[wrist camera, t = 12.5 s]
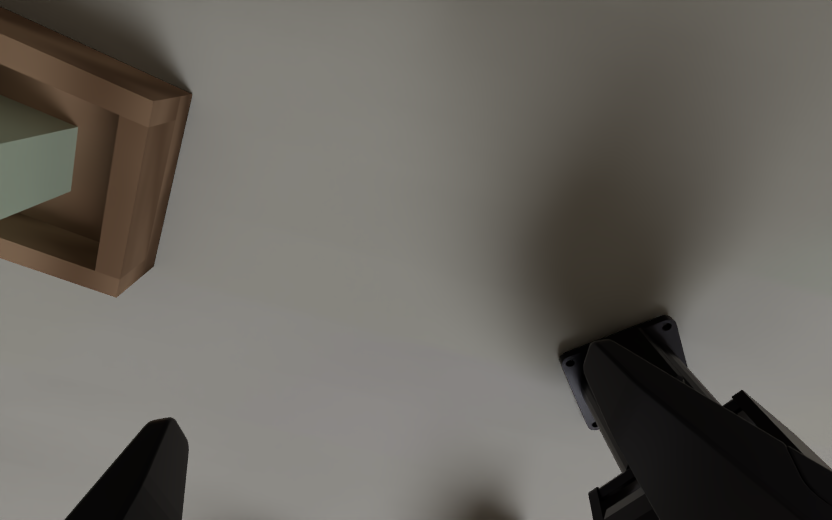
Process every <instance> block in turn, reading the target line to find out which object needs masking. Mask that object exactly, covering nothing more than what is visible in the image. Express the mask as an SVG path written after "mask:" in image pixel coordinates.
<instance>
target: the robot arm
mask: <svg viewBox="0 0 832 520" xmlns="http://www.w3.org/2000/svg"><path fill="white" fill-rule="evenodd" d="M665 324H666V325H665ZM663 325H665V326H663ZM569 360H571V361H570V362H567V361H569ZM559 361H560V364H561V366H562V369H563V371H564V373H565V375H566V378H567V380H568V382H569V385H570V387H571V389H572V392H573V394H574V396H575V399H576V401H577V403H578V405H579V408H580V410H581V412H582V415H583V417H584V419H585V422H586V424H587V426H588V428H589V429H591V430H598V429H600V431H601V433H602V435H603V437H604V439H605V441H606V443H607V445H608V447H609V449H610V451H611V453H612V455H613V456H614V458H615V460H616V462H617V464H618V466H619V468H620V470H621V472H622V473H621V474H620V475H618V476H617V477H615V478H614V479H612V480H611V481H609V482H608V483H606V484H605V485H603V486H602V487H600V488H599V487H596V488H595V489H593V490H592V491H590V492H589V493H588V495H589V500H590V505H591V510H592V516H593V520H832V469H831V468H830V467H829V466H828V465H827V464H826V463H825V462H824V461H823V460H822V459H820V458H819V457H818V456H817V455H816V454H815V453H814V452H813V451H812V450H811V449H810V448H809V447H808V446H807V445H806V444H805V443H804V442H803V441H802V440H800V439H799V438H798V437H797V436H796V435H795V434H794V433H793V432H792V431H790V430H789V429H788V428H787V427H786V426H784V425H783V424H782V423H781V422H780V421H779V420H777V419H776V418H775V417H774V416H773V415H772V414H770V413H769V412H768V411H767V410H766V409H764V408H763V407H762V406H761V405H760V404H759V403H757V402H756V401H755V400H754V399H753V398H751V397H750V396H749V395H748V394H747V393H746V392H744V391H743V390H741V391H740V392H738V393H737V394H735V395H734V396H732V398H733V399H732V400H730V401H729V402H728V403H726V404H725V405H723V406H722V405H721V404H720V403H719V402H718V401H717V400H716V399H715V398H714V397H713V395H712V394H711V393H710V392H709V391H708V390H707V389H706V388H705V387H704V385H703V384H702V383H701V382H700V381H699V380H698V379H697V378H696V377H695V376H694V374H693V373H692V372H691V371H690V370H689V369H688V368H687V364H686V360H685V356H684V352H683V348H682V344H681V340H680V336H679V332H678V328H677V325H676V322H675V321H674V320H673V319H672V318H671V317H670V316H666V315H664V316H660V317H658V318H655V319H652V320H650V321H647V322H645V323H642V324H639V325H637V326H634V327H631V328H629V329H626V330H624V331H621V332H618V333H616V334H613V335H610V336H608V337H605V338H603V339H600V340H597V341H593V342H592V343H590V344H587V345H584V346H582V347H579V348H576V349H574V350H571V351H569V352H566V353H564V354H562V355H561V356H560V359H559ZM188 453H189V446H188V441H187V439H186V437H185V435H184V433H183V432H182V430H181V428H180V427H179V425H178V423H177V422H176V420H175V419H173V418H171V417H168V418H163V419H157V420H153V421H150V422H149V423H147V424H146V425H145V426H144V427H143V428H142V430H141V431H140V432H139V433H138V434H137V435H136V437H135V438H134V439H133V440H132V441H131V442H130V444H129V445H128V446H127V447H126V448H125V449H124V451H123V452H122V453H121V454H120V455H119V456H118V458H117V459H116V460H115V461H114V462H113V463H112V465H111V466H110V467H109V468H108V469H107V470H106V472H105V473H104V474H103V475H102V476H101V478H100V479H99V480H98V481H97V482H96V483H95V485H94V486H93V487H92V488H91V489H90V490H89V492H88V493H87V494H86V495H85V496H84V497H83V499H82V500H81V501H80V502H79V503H78V504H77V506H76V507H75V508H74V509H73V510H72V511H71V513H70V514H69V515H68V516H67V517H66V518H65V520H182V512H183V503H184V493H185V483H186V473H187V463H188Z"/></svg>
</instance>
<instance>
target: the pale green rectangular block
mask: <svg viewBox="0 0 832 520" xmlns="http://www.w3.org/2000/svg"><path fill="white" fill-rule="evenodd" d="M77 133H78V127H77V126H75V125H72V124H70V123H67V122H65V121H63V120H60V119H58V118H55V117H53V116H50V115H48V114H46V113H43V112H41V111H38V110H36V109H34V108H31V107H29V106H26V105H24V104H21V103H19V102H17V101H14V100H12V99H9V98H7V97H5V96H2V95H0V220H1V219H3V218H6V217H8V216H11V215H13V214H16V213H18V212H21V211H23V210H25V209H28V208H30V207H33V206H35V205H38V204H40V203H43V202H45V201H48V200H50V199H53V198H55V197H58V196H60V195H63V194H65V193H68V192H70V191H71V185H72V176H73V167H74V159H75V150H76V141H77Z"/></svg>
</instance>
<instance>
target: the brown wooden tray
mask: <svg viewBox="0 0 832 520" xmlns="http://www.w3.org/2000/svg"><path fill="white" fill-rule="evenodd" d="M0 95H2V96H5V97H7V98H9V99H12V100H14V101H17V102H19V103H21V104H24V105H26V106H29V107H31V108H34V109H36V110H38V111H41V112H43V113H46V114H48V115H50V116H53V117H55V118H58V119H60V120H63V121H65V122H67V123H70V124H72V125H75V126H77V127H78V133H77V141H76V150H75V159H74V167H73V176H72V185H71V191H70V192H68V193H65V194H63V195H60V196H58V197H55V198H53V199H50V200H48V201H45V202H43V203H40V204H38V205H35V206H33V207H30V208H28V209H25V210H23V211H21V212H18V213H16V214H13V215H11V216H8V217H6V218H3V219H1V220H0V258H2V259H5V260H8V261H11V262H13V263H16V264H19V265H22V266H25V267H28V268H31V269H34V270H37V271H40V272H43V273H46V274H49V275H52V276H55V277H58V278H60V279H63V280H66V281H69V282H72V283H75V284H78V285H81V286H84V287H87V288H90V289H93V290H96V291H99V292H102V293H105V294H107V295H110V296H113V297H118V296H119V295H120V294H121V293H122V292H124V291H125V290H126V289H127V288H128V287H130V286H131V285H132V284H133V283H134V282H136V281H137V280H138V279H139V278H140V277H142V276H143V275H144V274H145V273H146V272H148V271H149V270H150V269H151V268H152V267H154V262H155V258H156V254H157V249H158V245H159V240H160V236H161V231H162V227H163V223H164V218H165V214H166V209H167V205H168V200H169V196H170V192H171V187H172V183H173V178H174V174H175V169H176V165H177V160H178V156H179V152H180V147H181V143H182V138H183V134H184V129H185V125H186V121H187V116H188V112H189V107H190V103H191V98H192V94H191V93H189V92H186V91H184V90H182V89H180V88H178V87H175V86H173V85H171V84H169V83H167V82H164V81H162V80H160V79H158V78H156V77H153V76H151V75H149V74H147V73H145V72H142V71H140V70H138V69H136V68H134V67H132V66H129V65H127V64H125V63H123V62H121V61H118V60H116V59H114V58H112V57H110V56H107V55H105V54H103V53H101V52H99V51H96V50H94V49H92V48H90V47H88V46H85V45H83V44H81V43H79V42H77V41H74V40H72V39H70V38H68V37H66V36H64V35H61V34H59V33H57V32H55V31H53V30H50V29H48V28H46V27H44V26H42V25H39V24H37V23H35V22H33V21H31V20H28V19H26V18H24V17H22V16H20V15H17V14H15V13H13V12H11V11H9V10H6V9H4V8H2V7H0Z"/></svg>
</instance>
